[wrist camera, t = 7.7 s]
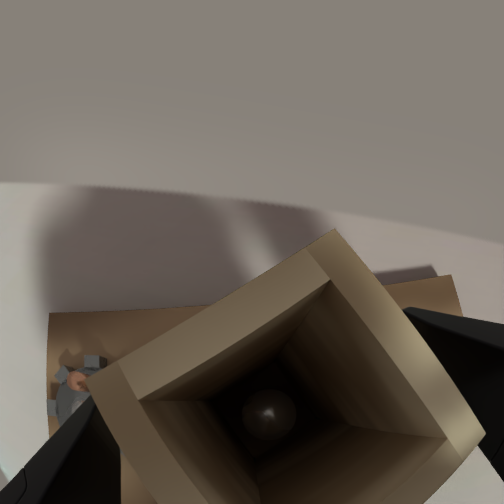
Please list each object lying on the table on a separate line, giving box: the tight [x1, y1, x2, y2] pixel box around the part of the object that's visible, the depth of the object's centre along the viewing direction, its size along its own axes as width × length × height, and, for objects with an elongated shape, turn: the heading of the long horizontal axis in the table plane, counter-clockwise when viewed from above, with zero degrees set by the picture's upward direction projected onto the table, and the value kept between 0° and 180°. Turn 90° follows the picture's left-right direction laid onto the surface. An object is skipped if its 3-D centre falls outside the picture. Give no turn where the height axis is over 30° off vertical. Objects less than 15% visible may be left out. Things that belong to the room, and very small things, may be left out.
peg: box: [242, 389, 296, 440], centre depth 11 cm, size 2×2×5 cm
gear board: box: [47, 275, 463, 504], centre depth 14 cm, size 11×25×1 cm, turn 96°
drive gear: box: [47, 355, 125, 456], centre depth 12 cm, size 6×6×3 cm
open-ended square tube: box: [84, 228, 486, 504], centre depth 9 cm, size 9×9×11 cm
